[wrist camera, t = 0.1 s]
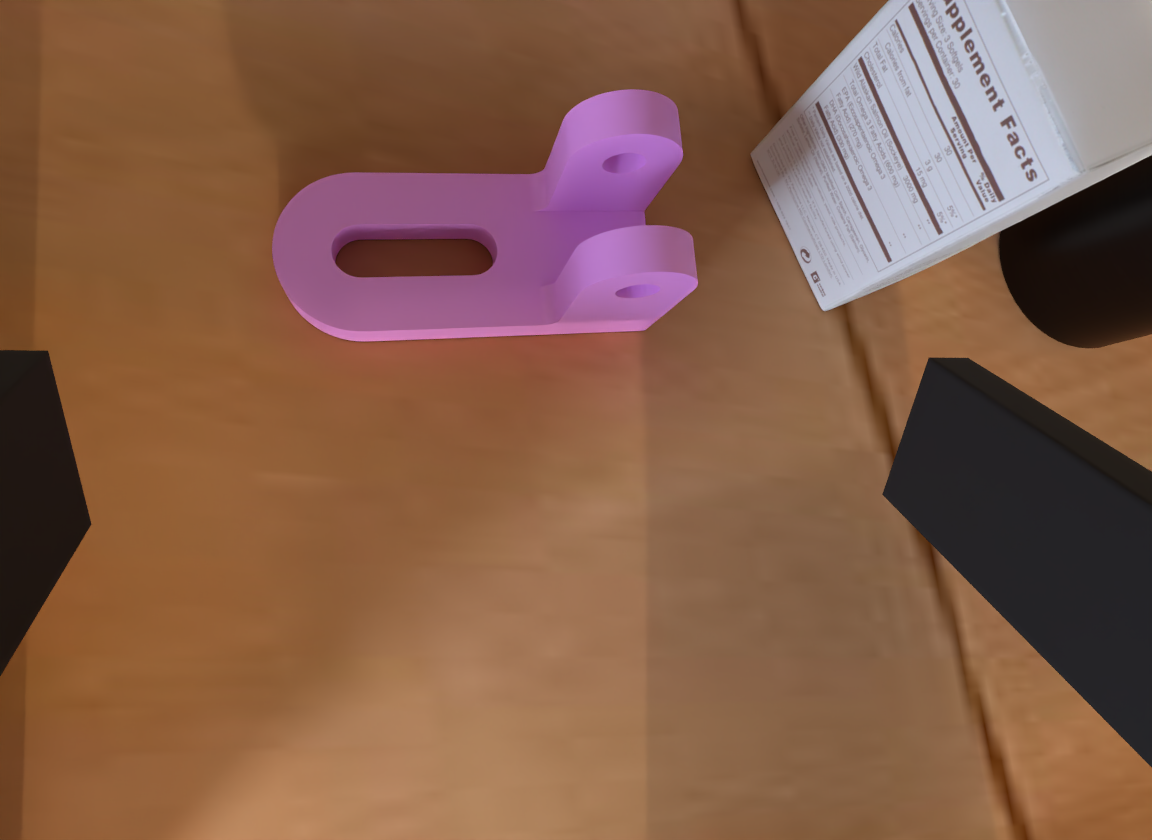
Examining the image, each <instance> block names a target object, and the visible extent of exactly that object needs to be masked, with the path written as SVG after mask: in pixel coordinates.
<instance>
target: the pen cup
mask: <svg viewBox="0 0 1152 840" xmlns="http://www.w3.org/2000/svg"><path fill="white" fill-rule="evenodd" d="M999 248H1000V260H1001V266H1002V271H1003V274H1004V277H1005V281H1006V283H1007V286H1008V288H1009V290H1010V293H1011V294H1012V296H1013V298H1014V300H1015V302H1016V303H1017V305H1018V306H1019V308H1020V309H1021V311H1022V312H1023V313H1024V314H1025V316H1026V317H1027V318H1028V319H1029V320H1030V321H1031V322H1032V323H1033V324H1034V325H1035V326H1036V327H1037V328H1038V329H1040V330H1041V331H1042V332H1044V333H1045V334H1047V335H1048V336H1050V337H1051V338H1053V339H1055V340H1057V341H1059V342H1062V343H1064V344H1067V345H1071V346H1075V347H1080V348H1099V347H1103V346H1107V345H1111V344H1115V343H1119V342H1123V341H1127V340H1131V339H1134V338H1138V337H1142V336H1146V335H1150V334H1152V155H1151V156H1149V157H1147V158H1145V159H1143V160H1141V161H1139V162H1137V163H1135V164H1133V165H1131V166H1129V167H1127V168H1125V169H1123V170H1121V171H1119V172H1117V173H1115V174H1113V175H1111V176H1109V177H1107V178H1105V179H1103V180H1101V181H1099V182H1097V183H1095V184H1093V185H1091V186H1089V187H1087V188H1085V189H1083V190H1081V191H1079V192H1077V193H1075V194H1073V195H1071V196H1069V197H1067V198H1065V199H1063V200H1061V201H1059V202H1057V203H1055V204H1053V205H1051V206H1050V207H1048V208H1046V209H1044V210H1042V211H1040V212H1038V213H1036V214H1034V215H1032V216H1030V217H1028V218H1026V219H1024V220H1022V221H1020V222H1018V223H1016V224H1014V225H1012V226H1010V227H1008V228H1006V229H1004V230H1002V231H1001V233H1000V245H999Z"/></svg>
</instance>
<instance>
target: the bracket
mask: <svg viewBox="0 0 1152 840" xmlns="http://www.w3.org/2000/svg"><path fill="white" fill-rule="evenodd" d="M682 158H683V149H682V140H681V132H680V123H679V115H678V109H677V106H676V104H675V103H674V102H673V101H672V100H671V99H670V98H668V97H666V96H664V95H662V94H660V93H657V92H653V91H648V90H637V89H629V90H618V91H612V92H607V93H603V94H599V95H597V96H594V97H591V98H589V99H587V100H585V101H583V102H581V103H579V104H578V105H576V106H575V107H573V108H572V109H571V110H570V111H569V112H568V113H567V114H566V116H565V117H564V119H563V122H562V124H561V127H560V130H559V132H558V135H557V137H556V140H555V143H554V145H553V148H552V151H551V153H550V156H549V158H548V161H547V164H546V166H545V168H544V169H543V170H542V171H540V172H538V173H534V174H460V173H364V172H353V173H341V174H335V175H331V176H328V177H325V178H322V179H319V180H317V181H315V182H313V183H311V184H310V185H308V186H306V187H305V188H303V189H302V190H301V191H300V192H298V193H297V194H296V195H295V196H294V197H293V198H292V199H291V200H290V202H289V203H288V204H287V205H286V207H285V208H284V210H283V211H282V213H281V215H280V217H279V219H278V221H277V224H276V227H275V230H274V235H273V243H272V255H273V262H274V267H275V270H276V274H277V276H278V279H279V281H280V283H281V285H282V287H283V289H284V291H285V293H286V294H287V296H288V298H289V300H290V302H291V303H292V305H293V306H294V307H295V309H296V310H297V311H298V312H299V313H300V315H301V316H302V317H303V318H305V319H306V320H307V321H308V322H309V323H311V324H312V325H313V326H315V327H316V328H318V329H320V330H321V331H323V332H325V333H327V334H330V335H332V336H335V337H338V338H341V339H346V340H351V341H391V340H417V339H443V338H469V337H495V336H521V335H546V334H572V333H598V332H624V331H645V330H646V329H647V328H648V327H650V326H651V325H652V324H653V323H654V322H656V321H657V320H658V319H659V318H661V317H662V316H663V315H664V314H665V313H667V312H668V311H669V310H670V309H671V308H673V307H674V306H675V305H676V304H677V303H679V302H680V301H681V300H682V299H683V298H685V297H686V296H687V295H688V294H690V293H691V292H692V291H693V290H694V289H695V288H696V287H697V285H698V279H697V270H696V262H695V253H694V244H693V238H692V236H691V234H690V233H688V232H687V231H685V230H683V229H680V228H676V227H671V226H662V225H646V222H645V213H644V211H645V210H646V208H647V207H648V206H649V204H650V203H651V202H652V200H653V199H654V198H655V196H656V195H657V194H658V192H659V191H660V190H661V188H662V187H663V186H664V184H665V183H666V182H667V180H668V179H669V178H670V176H671V175H672V174H673V172H674V171H675V170H676V168H677V167H678V166H679V164H680V163H681V161H682ZM381 239H472V240H476V241H478V242H480V243H481V244H483V245H484V246H485V247H486V248H487V249H488V250H489V252H490V254H491V256H492V259H493V266H492V267H491V268H490V269H489V270H487V271H486V272H484V273H482V274H479V275H463V276H413V277H363V278H361V277H353V276H350V275H348V274H346V273H344V272H343V271H341V270H340V269H339V268H338V267H337V265H336V264H335V260H336V256H337V254H338V252H339V251H340V249H341V248H342V247H343V246H344V245H346V244H347V243H349V242H351V241H355V240H381Z"/></svg>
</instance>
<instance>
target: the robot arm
mask: <svg viewBox="0 0 1152 840" xmlns="http://www.w3.org/2000/svg"><path fill="white" fill-rule="evenodd" d="M883 496H884V497H885V498H886V499H887V500H888V501H889V502H890V503H891V504H892V505H893V506H894V507H895V508H896V509H897V510H898V511H899V512H900V513H901V514H902V515H903V516H904V517H905V518H906V519H907V520H908V521H909V522H910V523H911V524H912V525H913V526H914V527H915V528H916V529H917V530H918V531H919V532H920V533H921V534H922V535H923V536H924V537H925V538H926V539H927V540H928V541H929V542H930V543H931V544H932V545H933V546H934V547H935V548H936V549H937V550H938V551H939V552H940V553H941V554H942V555H943V556H944V557H945V558H946V559H947V560H948V561H949V562H950V563H951V564H952V565H953V566H954V567H955V568H956V570H957V571H958V572H959V573H960V574H961V575H962V576H963V577H964V578H965V579H966V580H967V581H968V582H969V583H970V584H971V585H972V586H973V587H974V588H975V589H976V590H977V591H978V592H979V593H980V594H981V595H982V596H983V597H984V598H985V599H986V600H987V601H988V602H989V603H990V604H991V605H992V606H993V607H994V608H995V609H996V610H997V611H998V612H999V613H1000V614H1001V615H1002V616H1003V617H1004V618H1005V619H1006V620H1007V621H1008V622H1009V623H1010V624H1011V625H1012V626H1013V627H1014V628H1015V629H1016V630H1017V631H1018V632H1019V633H1020V634H1021V635H1022V636H1023V637H1024V638H1025V639H1026V640H1027V641H1028V642H1029V644H1030V645H1031V646H1032V647H1033V648H1034V649H1035V650H1036V651H1037V652H1038V653H1039V654H1040V655H1041V656H1042V657H1043V658H1044V659H1045V660H1046V661H1047V662H1048V663H1049V664H1050V665H1051V666H1052V667H1053V668H1054V669H1055V670H1056V671H1057V672H1058V673H1059V674H1060V675H1061V676H1062V677H1063V678H1064V679H1065V680H1066V681H1067V682H1068V683H1069V684H1070V685H1071V686H1072V687H1073V688H1074V689H1075V690H1076V691H1077V692H1078V693H1079V694H1080V695H1081V696H1082V697H1083V698H1084V699H1085V700H1086V701H1087V702H1088V703H1089V704H1090V705H1091V706H1092V707H1093V708H1094V709H1095V710H1096V711H1097V712H1098V713H1099V714H1100V715H1101V716H1102V718H1103V719H1104V720H1105V721H1106V722H1107V723H1108V724H1109V725H1110V726H1111V727H1112V728H1113V729H1114V730H1115V731H1116V732H1117V733H1118V734H1119V735H1120V736H1121V737H1122V738H1123V739H1124V740H1125V741H1126V742H1127V743H1128V744H1129V745H1130V746H1131V747H1132V748H1133V749H1134V750H1135V751H1136V752H1137V753H1138V754H1139V755H1140V756H1141V757H1142V758H1143V759H1144V760H1145V761H1146V762H1147V763H1148V764H1149V765H1150V766H1151V767H1152V472H1151V471H1149V470H1148V469H1146V468H1145V467H1143V466H1141V465H1140V464H1138V463H1137V462H1135V461H1133V460H1132V459H1130V458H1128V457H1127V456H1125V455H1124V454H1122V453H1120V452H1119V451H1117V450H1116V449H1114V448H1112V447H1111V446H1109V445H1108V444H1106V443H1104V442H1103V441H1101V440H1099V439H1098V438H1096V437H1095V436H1093V435H1091V434H1090V433H1088V432H1087V431H1085V430H1083V429H1082V428H1080V427H1078V426H1077V425H1075V424H1074V423H1072V422H1070V421H1069V420H1067V419H1066V418H1064V417H1062V416H1061V415H1059V414H1057V413H1056V412H1054V411H1053V410H1051V409H1049V408H1048V407H1046V406H1045V405H1043V404H1041V403H1040V402H1038V401H1037V400H1035V399H1033V398H1032V397H1030V396H1028V395H1027V394H1025V393H1024V392H1022V391H1020V390H1019V389H1017V388H1016V387H1014V386H1012V385H1011V384H1009V383H1007V382H1006V381H1004V380H1003V379H1001V378H999V377H998V376H996V375H995V374H993V373H991V372H990V371H988V370H986V369H985V368H983V367H982V366H980V365H978V364H977V363H975V362H974V361H972V360H970V359H969V358H929V359H928V362H927V365H926V368H925V371H924V374H923V377H922V380H921V382H920V385H919V388H918V391H917V394H916V397H915V400H914V403H913V406H912V409H911V412H910V415H909V418H908V421H907V424H906V427H905V430H904V433H903V436H902V439H901V442H900V444H899V447H898V450H897V453H896V456H895V459H894V462H893V465H892V468H891V471H890V474H889V477H888V480H887V483H886V486H885V489H884V492H883ZM90 526H91V521H90V517H89V513H88V509H87V505H86V501H85V497H84V493H83V489H82V485H81V481H80V477H79V473H78V469H77V465H76V461H75V457H74V453H73V449H72V445H71V441H70V437H69V433H68V429H67V425H66V421H65V417H64V413H63V409H62V405H61V401H60V397H59V393H58V389H57V385H56V381H55V377H54V373H53V369H52V365H51V361H50V357H49V353H48V351H15V350H0V676H1V674H2V672H3V671H4V669H5V667H6V666H7V664H8V662H9V661H10V659H11V657H12V656H13V654H14V652H15V651H16V649H17V647H18V646H19V644H20V642H21V641H22V639H23V637H24V636H25V634H26V632H27V631H28V629H29V627H30V626H31V624H32V622H33V621H34V619H35V617H36V616H37V614H38V612H39V611H40V609H41V607H42V606H43V604H44V602H45V601H46V599H47V597H48V596H49V594H50V592H51V591H52V589H53V587H54V586H55V584H56V582H57V581H58V579H59V577H60V576H61V574H62V572H63V571H64V569H65V567H66V566H67V564H68V562H69V561H70V559H71V557H72V556H73V554H74V552H75V551H76V549H77V547H78V546H79V544H80V542H81V541H82V539H83V537H84V536H85V534H86V532H87V531H88V529H89V527H90Z"/></svg>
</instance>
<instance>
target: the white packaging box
mask: <svg viewBox="0 0 1152 840" xmlns="http://www.w3.org/2000/svg"><path fill="white" fill-rule="evenodd" d="M750 155H751V158H752V160H753V163H754V166H755V168H756V170H757V172H758V175H759V177H760V180H761V182H762V184H763V186H764V188H765V190H766V192H767V194H768V196H769V199H770V201H771V203H772V206H773V208H774V210H775V212H776V214H777V216H778V218H779V220H780V223H781V225H782V227H783V229H784V231H785V234H786V236H787V238H788V240H789V242H790V244H791V246H792V248H793V251H794V253H795V255H796V257H797V260H798V262H799V264H800V266H801V268H802V270H803V272H804V274H805V276H806V279H807V281H808V283H809V284H810V287H811V289H812V291H813V293H814V295H815V297H816V299H817V301H818V303H819V305H820V307H821V309H822V310H824V311H827V310H830V309H833V308H835V307H838V306H840V305H843V304H845V303H848V302H850V301H853V300H855V299H857V298H860V297H862V296H865V295H867V294H870V293H872V292H874V291H877V290H879V289H881V288H884V287H886V286H889V285H891V284H893V283H896V282H898V281H900V280H903V279H905V278H907V277H909V276H911V275H914V274H916V273H918V272H920V271H922V270H924V269H926V268H929V267H931V266H933V265H935V264H937V263H939V262H941V261H943V260H945V259H947V258H949V257H951V256H953V255H955V254H957V253H959V252H961V251H963V250H965V249H967V248H969V247H971V246H973V245H975V244H976V243H978V242H980V241H982V240H984V239H986V238H988V237H990V236H992V235H994V234H996V233H998V232H1000V231H1002V230H1004V229H1006V228H1008V227H1010V226H1012V225H1014V224H1016V223H1018V222H1020V221H1022V220H1024V219H1026V218H1028V217H1030V216H1032V215H1034V214H1036V213H1038V212H1040V211H1042V210H1044V209H1046V208H1048V207H1050V206H1051V205H1053V204H1055V203H1057V202H1059V201H1061V200H1063V199H1065V198H1067V197H1069V196H1071V195H1073V194H1075V193H1077V192H1079V191H1081V190H1083V189H1085V188H1087V187H1089V186H1091V185H1093V184H1095V183H1097V182H1099V181H1101V180H1103V179H1105V178H1107V177H1109V176H1111V175H1113V174H1115V173H1117V172H1119V171H1121V170H1123V169H1125V168H1127V167H1129V166H1131V165H1133V164H1135V163H1137V162H1139V161H1141V160H1143V159H1145V158H1147V157H1149V156H1151V155H1152V0H888V2H887V3H886V4H885V5H884V6H883V7H882V8H881V9H880V10H879V11H878V12H877V13H876V15H875V16H874V17H873V18H872V19H871V20H870V21H869V22H868V23H867V24H866V25H865V26H864V28H863V29H862V30H861V31H860V32H859V33H858V34H857V35H856V36H855V37H854V38H853V40H852V41H851V42H850V43H849V44H848V45H847V46H846V47H845V48H844V49H843V51H842V52H841V53H840V54H839V55H838V56H837V57H836V58H835V59H834V61H833V62H832V63H831V64H830V65H829V66H828V67H827V68H826V69H825V70H824V72H823V73H822V74H821V75H820V76H819V77H818V78H817V80H816V81H815V82H814V83H813V84H812V85H811V86H810V87H809V88H808V89H807V90H806V92H805V93H804V94H803V95H802V96H801V97H800V98H799V99H798V101H797V102H796V103H795V104H794V105H793V106H792V107H791V108H790V109H789V110H788V112H787V113H786V114H785V115H784V116H783V117H782V118H781V119H780V120H779V122H778V123H777V124H776V125H775V126H774V127H773V128H772V129H771V131H770V132H769V133H768V134H767V135H766V136H765V138H764V139H763V140H762V141H761V142H760V143H759V144H758V145H757V146H756V148H755V149H754V150H753V151H752V152H751V154H750Z"/></svg>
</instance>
